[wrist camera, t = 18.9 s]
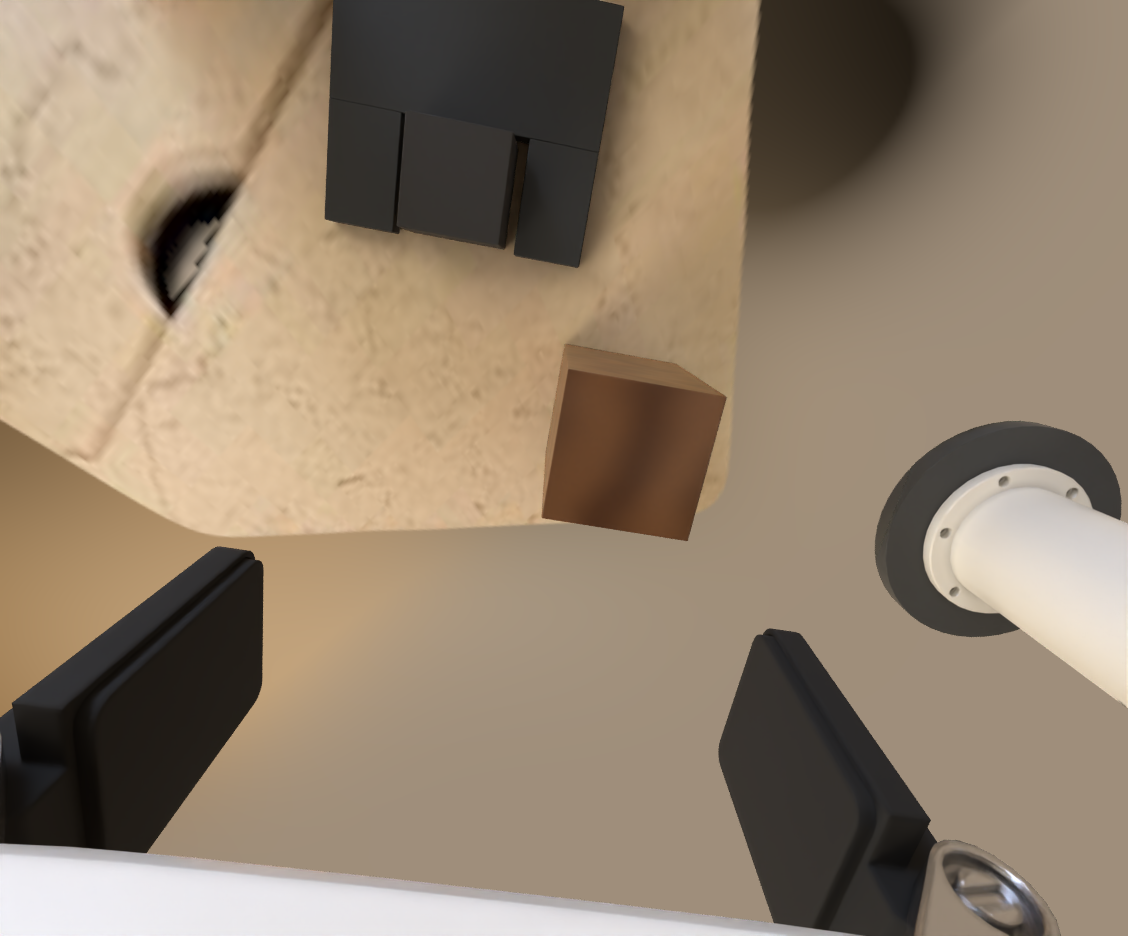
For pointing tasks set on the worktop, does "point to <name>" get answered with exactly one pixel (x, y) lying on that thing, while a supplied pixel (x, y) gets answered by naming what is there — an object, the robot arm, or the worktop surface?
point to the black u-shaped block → (473, 102)
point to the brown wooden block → (628, 443)
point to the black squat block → (456, 179)
